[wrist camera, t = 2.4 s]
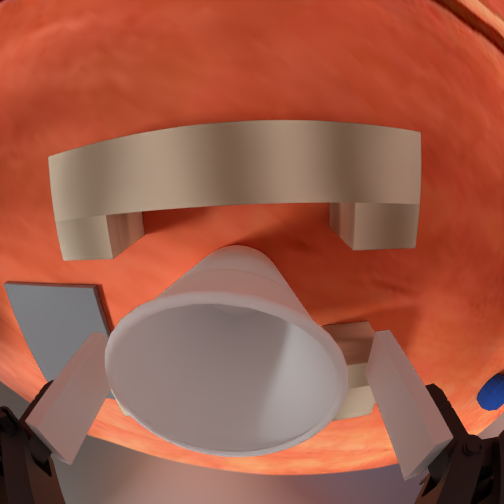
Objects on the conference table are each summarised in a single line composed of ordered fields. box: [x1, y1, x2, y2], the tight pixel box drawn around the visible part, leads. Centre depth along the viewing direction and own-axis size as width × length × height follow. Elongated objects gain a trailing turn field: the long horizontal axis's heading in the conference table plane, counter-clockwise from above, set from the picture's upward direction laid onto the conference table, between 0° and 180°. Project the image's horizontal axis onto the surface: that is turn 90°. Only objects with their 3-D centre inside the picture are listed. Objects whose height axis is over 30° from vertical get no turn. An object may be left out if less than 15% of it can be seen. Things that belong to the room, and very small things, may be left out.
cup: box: [105, 245, 349, 457], centre depth 15 cm, size 10×10×11 cm
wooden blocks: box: [48, 120, 421, 421], centre depth 17 cm, size 21×21×5 cm
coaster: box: [4, 282, 115, 399], centre depth 22 cm, size 14×14×1 cm
